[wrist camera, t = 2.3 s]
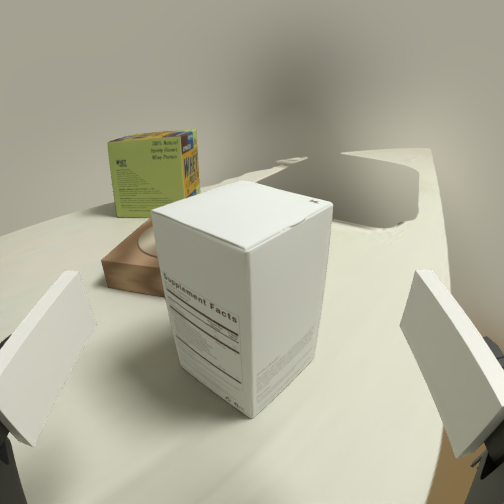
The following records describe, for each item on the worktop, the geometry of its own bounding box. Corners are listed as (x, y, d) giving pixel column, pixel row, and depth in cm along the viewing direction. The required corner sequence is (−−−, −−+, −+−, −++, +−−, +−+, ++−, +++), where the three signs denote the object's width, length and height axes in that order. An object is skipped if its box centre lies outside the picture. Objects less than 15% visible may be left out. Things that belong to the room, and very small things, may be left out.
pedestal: (108, 287, 38) (100, 258, 36) (159, 234, 52) (156, 210, 50) (226, 305, 35) (224, 272, 33) (254, 242, 49) (254, 216, 47)
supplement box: (244, 319, 33) (241, 177, 26) (316, 358, 28) (338, 201, 21) (176, 365, 27) (146, 207, 20) (250, 422, 22) (247, 248, 15)
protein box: (187, 219, 58) (181, 135, 50) (116, 218, 59) (105, 142, 52) (202, 200, 67) (198, 128, 59) (138, 200, 68) (130, 133, 61)
